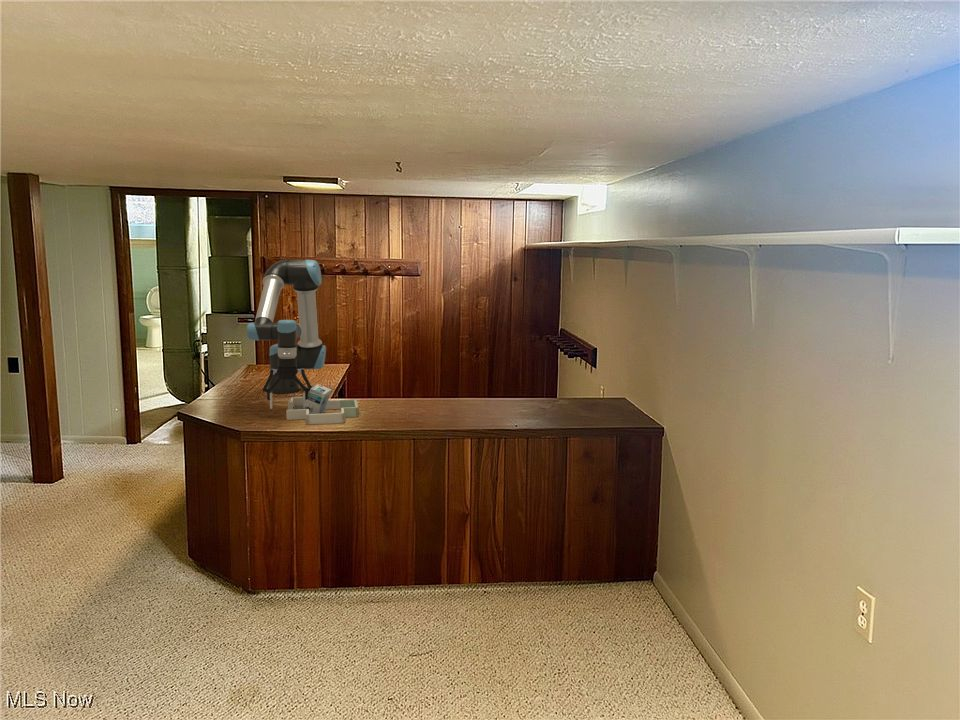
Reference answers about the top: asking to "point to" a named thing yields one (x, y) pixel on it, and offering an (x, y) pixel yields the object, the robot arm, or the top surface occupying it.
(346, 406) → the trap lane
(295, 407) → the mats
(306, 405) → the light bulb box
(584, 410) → the top surface
